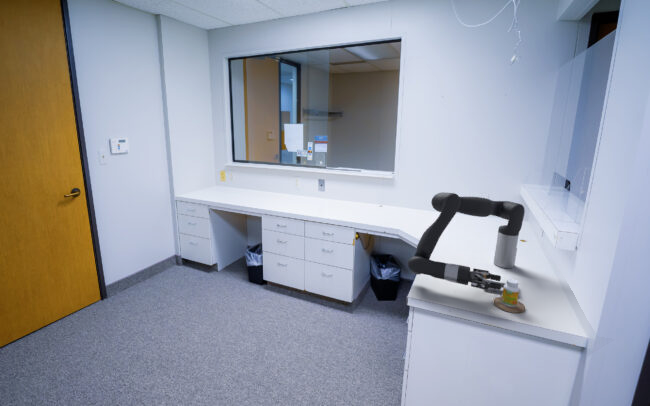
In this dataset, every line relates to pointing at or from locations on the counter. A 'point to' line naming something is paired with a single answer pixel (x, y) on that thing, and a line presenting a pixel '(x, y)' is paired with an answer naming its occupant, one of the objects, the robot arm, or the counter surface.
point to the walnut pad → (517, 309)
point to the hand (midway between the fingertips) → (500, 282)
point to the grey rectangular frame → (496, 289)
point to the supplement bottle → (510, 293)
